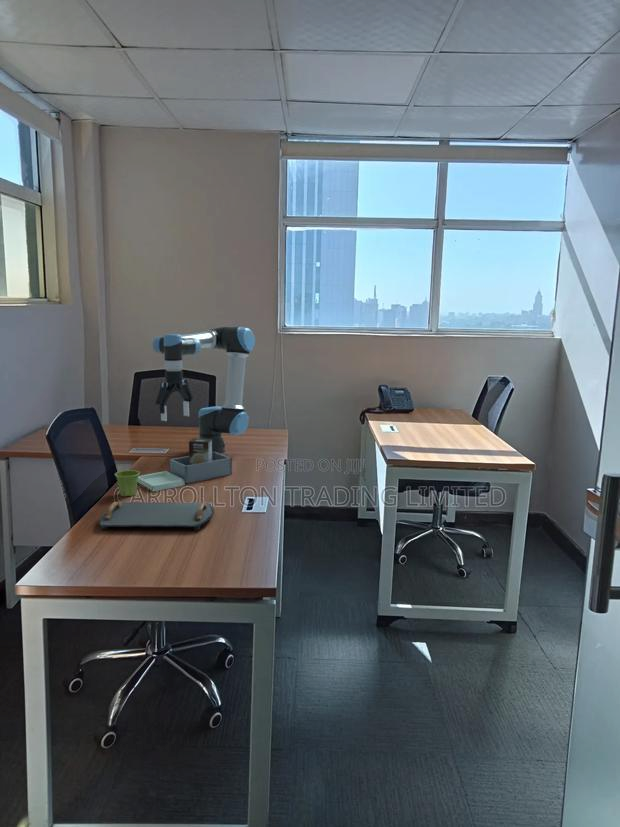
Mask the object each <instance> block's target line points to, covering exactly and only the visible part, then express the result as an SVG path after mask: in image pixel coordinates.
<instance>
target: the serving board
mask: <svg viewBox="0 0 620 827" xmlns="http://www.w3.org/2000/svg"><path fill="white" fill-rule="evenodd" d="M214 514H215V511H214V507H213V506H212V505H211V503H209V502H155V501H154V502H143V501H142V502H137V501H136V502H121V503H120V502H118V501H113V502H112V503H111V504H110V505H109V506H108V508H107V510H105V511H104V512H103V513H102V514H101V515H100V517H99V519H98V525H99V526H100V527H101V530H102V531H108V530H109V527H110V528H111V527H114V528H115V527H116V528H117V527H119V528H120V527H121V528H123V527H124V528H132V527H133V528H135V527H136V528H137V527H139V528H142V527H143V528H158V527H159V528H174V527H175V528H193V530H194V531H195V532H198V531H200V530H201V526H202V525H205V524H206V523H207V522H209V521H210V519H212V518H213V516H214Z"/></svg>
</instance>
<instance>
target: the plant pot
mask: <svg viewBox="0 0 620 827" xmlns="http://www.w3.org/2000/svg"><path fill="white" fill-rule="evenodd" d="M140 474H141V473H140V471H138V470H133V469H132V470H131V469H130V470H120V471H117V472H115V473H114V476H115V478H116V480H117V484H118V490H119V495H120V496H122V497H132V496H135V495H136V494H137V490H138V487H137V486H138V483H137V481H138V477H139V476H140Z"/></svg>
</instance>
